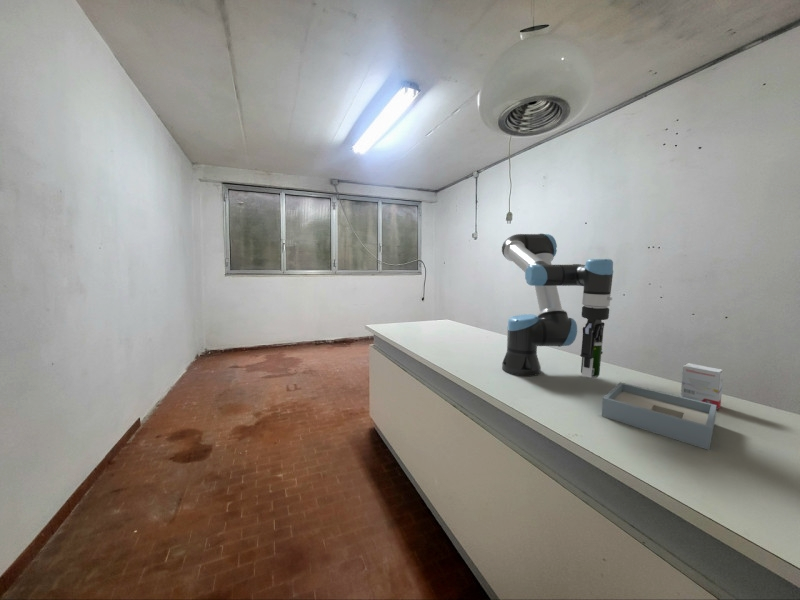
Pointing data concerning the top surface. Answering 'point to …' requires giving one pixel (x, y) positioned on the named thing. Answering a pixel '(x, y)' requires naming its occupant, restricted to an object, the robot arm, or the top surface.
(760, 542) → the top surface
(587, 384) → the top surface
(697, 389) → the ink box
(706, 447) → the inlet box
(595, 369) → the beer can
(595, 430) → the top surface
